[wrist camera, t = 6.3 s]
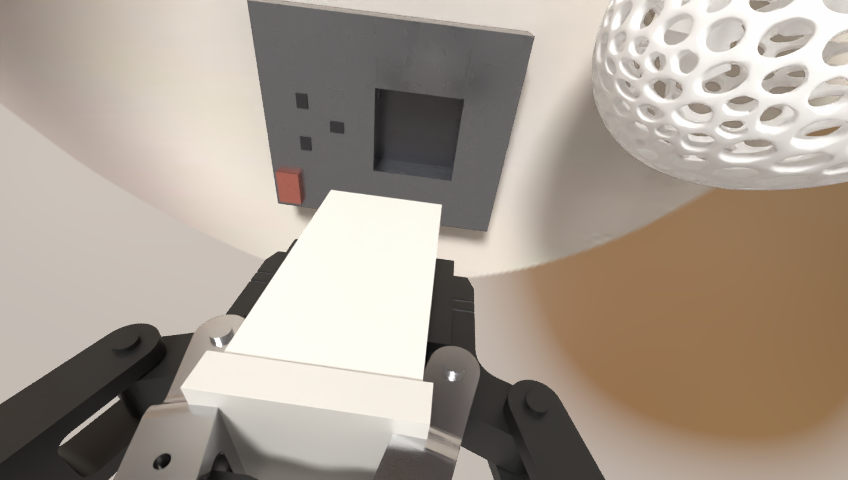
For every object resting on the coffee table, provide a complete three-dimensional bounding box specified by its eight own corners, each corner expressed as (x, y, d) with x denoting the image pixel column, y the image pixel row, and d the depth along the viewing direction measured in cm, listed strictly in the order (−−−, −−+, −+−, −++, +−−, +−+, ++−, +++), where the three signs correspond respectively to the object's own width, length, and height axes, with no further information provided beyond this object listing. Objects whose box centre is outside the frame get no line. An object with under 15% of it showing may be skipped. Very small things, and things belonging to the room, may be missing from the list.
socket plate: (291, 188, 30) (275, 206, 27) (266, -2, 22) (242, 0, 20) (485, 214, 29) (487, 235, 27) (528, 31, 22) (535, 37, 19)
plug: (331, 277, 15) (232, 490, 9) (324, 183, 13) (180, 387, 6) (433, 291, 15) (410, 518, 9) (448, 200, 13) (429, 424, 6)
